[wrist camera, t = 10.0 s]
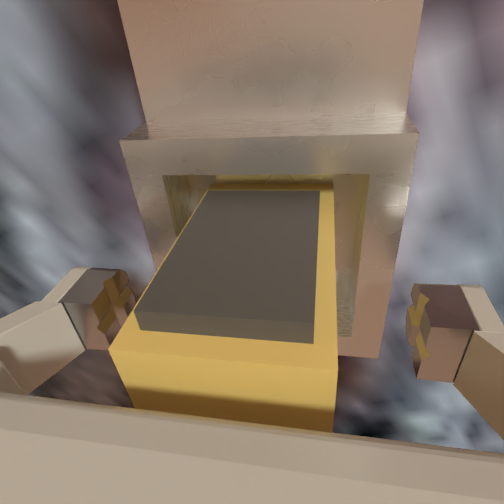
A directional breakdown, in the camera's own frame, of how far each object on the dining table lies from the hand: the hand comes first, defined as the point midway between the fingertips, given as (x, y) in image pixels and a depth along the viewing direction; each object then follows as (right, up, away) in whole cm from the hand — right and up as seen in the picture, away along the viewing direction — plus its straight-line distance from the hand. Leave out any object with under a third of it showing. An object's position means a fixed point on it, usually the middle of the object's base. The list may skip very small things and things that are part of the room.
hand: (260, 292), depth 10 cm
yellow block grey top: (+1, +2, +2) cm, 3 cm away
